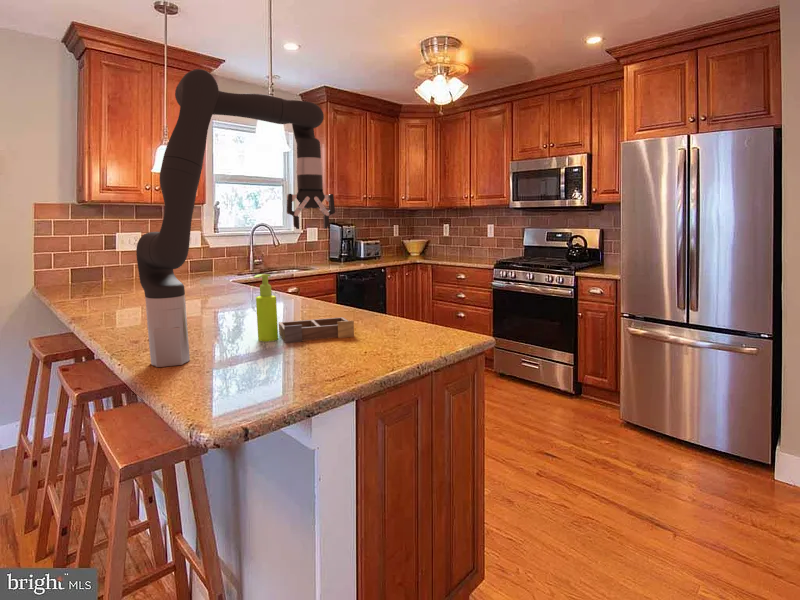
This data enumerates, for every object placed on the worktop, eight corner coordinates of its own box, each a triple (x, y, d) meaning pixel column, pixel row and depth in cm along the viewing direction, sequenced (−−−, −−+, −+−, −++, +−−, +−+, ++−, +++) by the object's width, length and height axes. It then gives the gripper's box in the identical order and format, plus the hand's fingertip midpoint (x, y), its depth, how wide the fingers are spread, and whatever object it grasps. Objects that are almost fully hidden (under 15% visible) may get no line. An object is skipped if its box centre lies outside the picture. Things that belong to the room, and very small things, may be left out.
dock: (354, 336, 160) (353, 320, 159) (285, 343, 152) (284, 326, 152) (343, 328, 172) (343, 313, 171) (279, 334, 165) (278, 318, 164)
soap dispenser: (251, 341, 155) (247, 274, 152) (267, 336, 161) (264, 272, 158) (266, 343, 153) (263, 275, 150) (282, 338, 159) (279, 273, 156)
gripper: (287, 172, 149) (290, 229, 152) (335, 173, 154) (337, 228, 157) (283, 174, 156) (286, 229, 159) (330, 175, 161) (331, 228, 164)
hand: (311, 228), depth 158 cm, fingers open, 8 cm apart
